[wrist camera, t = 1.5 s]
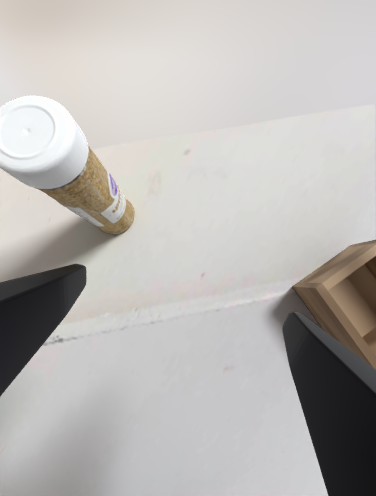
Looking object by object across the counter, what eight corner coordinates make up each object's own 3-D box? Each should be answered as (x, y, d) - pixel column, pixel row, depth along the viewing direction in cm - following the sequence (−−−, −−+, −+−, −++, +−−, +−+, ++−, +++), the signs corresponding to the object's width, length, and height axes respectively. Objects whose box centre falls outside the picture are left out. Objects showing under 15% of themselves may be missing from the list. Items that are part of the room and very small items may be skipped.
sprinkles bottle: (141, 223, 23) (86, 148, 10) (105, 241, 23) (-4, 188, 10) (125, 190, 24) (52, 77, 11) (89, 207, 24) (-35, 111, 10)
